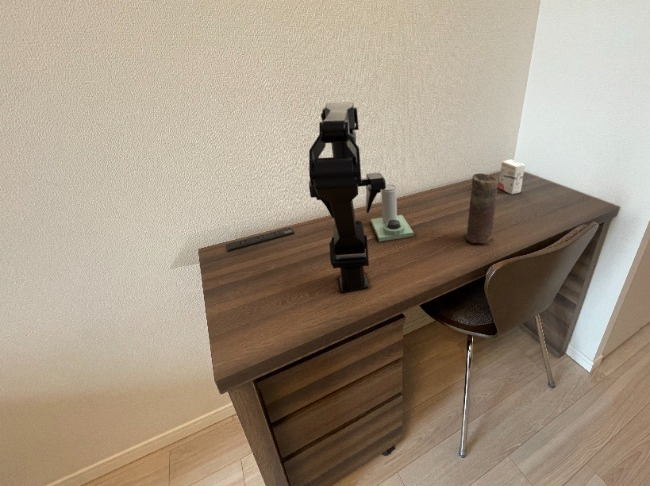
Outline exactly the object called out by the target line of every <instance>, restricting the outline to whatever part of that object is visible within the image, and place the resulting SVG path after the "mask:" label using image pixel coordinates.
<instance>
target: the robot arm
mask: <svg viewBox="0 0 650 486" xmlns="http://www.w3.org/2000/svg"><path fill="white" fill-rule="evenodd" d="M321 111H322V112H321V113H320V118H321V121H319V122H318V123H319V124H318V126H319V128H318V130H319V131H318V132H319V133H318V134H319V135H318V136H317V138H316V139H315V140H314V142H313V144H312V145H311V147H310V148H309V151H308V172H309V173H308V174H309V181H308V190H309V196H310V198H312V199H313V198H315V199H316V200H317V201H321V202H322V204H323V205H324V206H325V208H326V209H327V211H328V213H329V215H330V217H331V218H333V220H334V228H333V235H332V236H331V239H330V242H329V259H330V265H331V266H332V269H333V270H335V269H339V271H340V274H339V276H338V279H339V284H340V290H341V293H349V292H354V291H359V290H364V289H368V288H369V283H368V279H367V277H366V273H365V267H369V266H370V264H369V261H370V260H369V246H368V234H367V233H365V230H364V226H363V221H361V220H356V214H355V208H354V199H355V198H356V197H358V195H359V188H361V187H365V190H366V191H365V194H366V195H365V211H366V214H369V213H370V211H371V207H372V205H373V202H374V200H375V199H376V197H377V195H378V194H381V190H382V189H385V188H386V185H387V182H386V179H385V176H384V175H382V173H381V172H371V173H366V176H365V178H362V167H361V166H362V164H361V154H360V147H359V146H358V144H357V133H356V131H359V130H360V127H359V126H360V125H359V116H358V115H359V114H358V107H357V106H356V107H355V104H354V102H352V101H351V102H349V101H348V102H326V103H325V106H324V108H322V109H321ZM326 144H331V145H330V146H331V153H332V154H331V155H332V157H331V156H329V157H320V156H321V154H322V153H323V152H324V150H325V148H326V146H327V145H326Z"/></svg>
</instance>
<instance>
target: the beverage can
mask: <svg viewBox="0 0 650 486" xmlns="http://www.w3.org/2000/svg"><path fill="white" fill-rule="evenodd" d="M380 195H381V211H382V212H381V214H382V215H381V216H382V217H381V218H383V221H384V222H385V223H388V222H389V221H390V220H397V216H398V201H397V200H398V199H397V186H396V185H395V184H386V188H385V189H382V190H381V192H380Z"/></svg>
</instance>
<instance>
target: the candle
mask: <svg viewBox="0 0 650 486" xmlns="http://www.w3.org/2000/svg"><path fill="white" fill-rule="evenodd" d="M498 184H499V178H497V177H496V176H493V175H489V174H486V173H475V174H473V175H472V179H471V188H470V190H471V191H470V198H469V199H470V200H469V208H468V219H467V226H466V240H467V241H468V242H470V243H472V244H475V243H476V244H485V243H488V242H489V241H490V240H491V239H492V235H493V228H494V220H495V211H496V202H497V194H498V189H499V188H498Z"/></svg>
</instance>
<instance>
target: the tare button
mask: <svg viewBox="0 0 650 486" xmlns="http://www.w3.org/2000/svg"><path fill="white" fill-rule="evenodd" d="M388 228H389V229H398V228H400V222H399V221H398V220H390V221H389V222H388Z"/></svg>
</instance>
